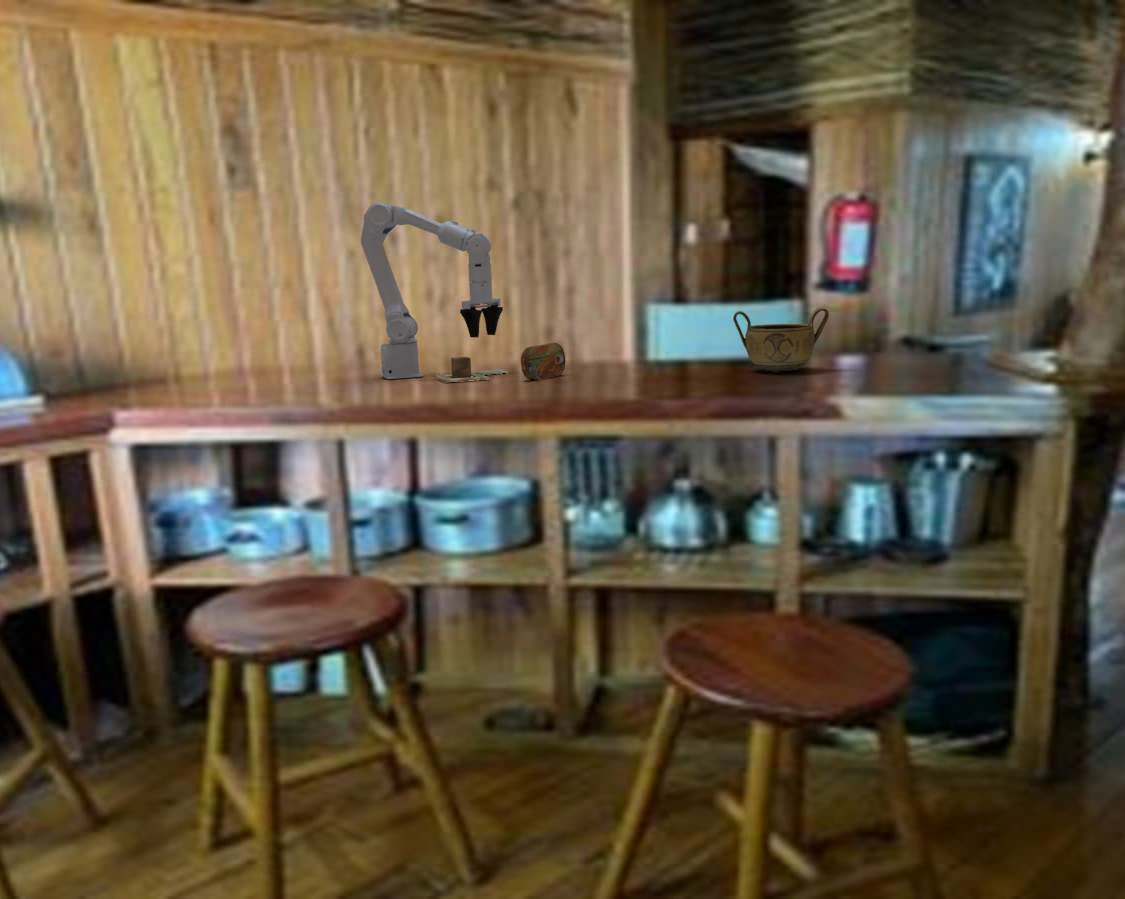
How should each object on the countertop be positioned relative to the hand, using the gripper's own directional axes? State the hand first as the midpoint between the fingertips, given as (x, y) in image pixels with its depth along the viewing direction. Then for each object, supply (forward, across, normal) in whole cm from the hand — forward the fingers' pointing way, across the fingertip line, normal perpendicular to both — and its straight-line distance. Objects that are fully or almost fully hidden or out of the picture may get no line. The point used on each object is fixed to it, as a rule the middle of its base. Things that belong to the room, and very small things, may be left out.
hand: (482, 336), depth 252 cm
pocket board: (+10, -10, 0) cm, 14 cm away
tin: (+10, -2, -19) cm, 22 cm away
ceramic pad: (+10, +3, 0) cm, 10 cm away
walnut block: (+10, -10, 0) cm, 15 cm away
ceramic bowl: (+10, +23, -71) cm, 75 cm away
